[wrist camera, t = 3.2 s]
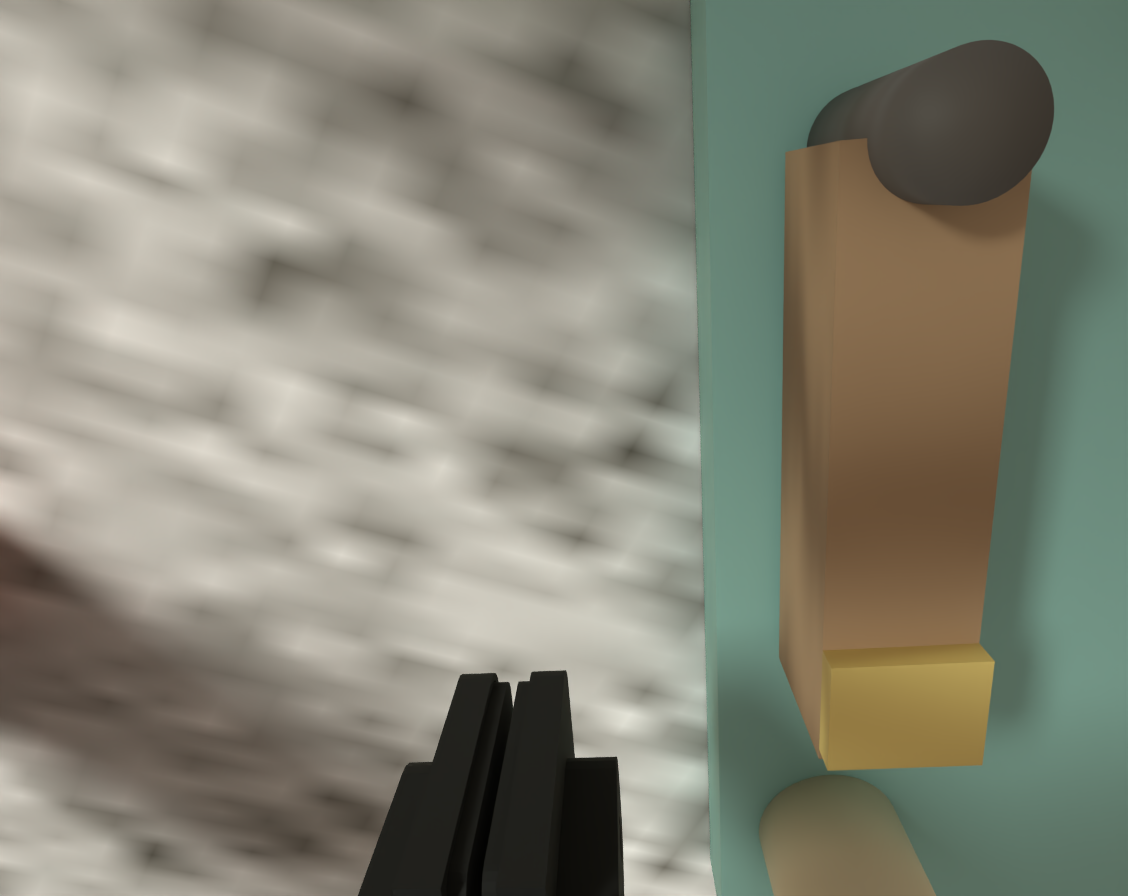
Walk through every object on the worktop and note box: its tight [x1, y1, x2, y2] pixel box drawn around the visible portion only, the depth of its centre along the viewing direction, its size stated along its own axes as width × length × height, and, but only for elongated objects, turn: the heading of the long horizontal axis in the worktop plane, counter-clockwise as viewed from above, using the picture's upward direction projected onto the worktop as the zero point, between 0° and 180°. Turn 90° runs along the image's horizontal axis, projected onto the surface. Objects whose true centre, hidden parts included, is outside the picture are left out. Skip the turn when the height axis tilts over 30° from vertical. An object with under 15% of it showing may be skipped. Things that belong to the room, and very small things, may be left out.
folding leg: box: [779, 40, 1054, 771], centre depth 12 cm, size 11×2×4 cm, turn 5°
